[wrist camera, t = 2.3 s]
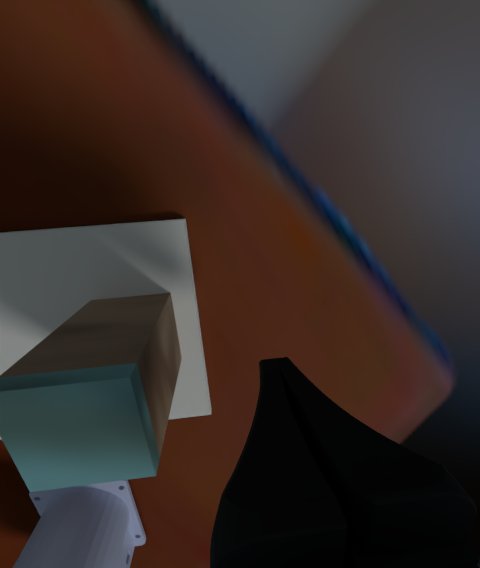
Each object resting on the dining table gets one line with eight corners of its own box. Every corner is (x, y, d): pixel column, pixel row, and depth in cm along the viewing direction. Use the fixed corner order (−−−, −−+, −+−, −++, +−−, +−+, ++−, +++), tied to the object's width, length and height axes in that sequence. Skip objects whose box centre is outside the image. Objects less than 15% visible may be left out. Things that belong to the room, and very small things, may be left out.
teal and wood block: (181, 357, 18) (155, 475, 10) (110, 365, 18) (30, 492, 10) (170, 292, 16) (129, 377, 9) (91, 300, 16) (-22, 394, 8)
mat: (211, 408, 20) (211, 414, 20) (-23, 435, 19) (-30, 442, 19) (185, 218, 15) (184, 219, 15) (-133, 242, 14) (-147, 244, 14)
